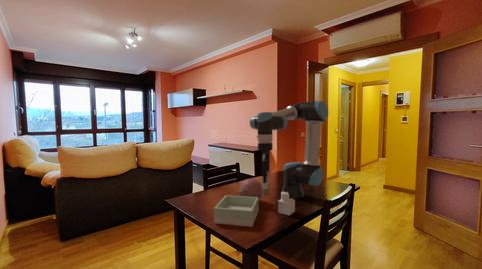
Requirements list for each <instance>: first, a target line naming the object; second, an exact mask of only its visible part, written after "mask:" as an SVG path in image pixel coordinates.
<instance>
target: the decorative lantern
mask: <svg viewBox="0 0 482 269" xmlns="http://www.w3.org/2000/svg"><path fill="white" fill-rule="evenodd" d="M237 194H238V196H245V197H258V202H259V201H260V200H261V198H263V197H262V196H263V195H262V183H261V182H260V181H259V180H257V179H255V178H246V179H244V180H243V181H242V182H241V183H240V184H239V188H238V192H237Z"/></svg>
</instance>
